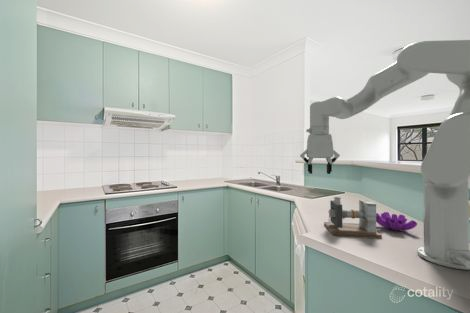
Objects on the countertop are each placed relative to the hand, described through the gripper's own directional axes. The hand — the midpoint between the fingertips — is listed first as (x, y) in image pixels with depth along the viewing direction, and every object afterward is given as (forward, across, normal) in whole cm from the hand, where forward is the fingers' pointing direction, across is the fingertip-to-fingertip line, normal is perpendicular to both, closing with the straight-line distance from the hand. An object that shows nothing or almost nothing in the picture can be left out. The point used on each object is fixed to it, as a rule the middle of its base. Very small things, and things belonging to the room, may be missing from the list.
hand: (319, 173), depth 89 cm
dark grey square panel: (+21, +6, 0) cm, 22 cm away
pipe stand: (+24, +12, 0) cm, 27 cm away
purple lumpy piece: (+24, +30, +6) cm, 39 cm away
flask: (+24, +14, +22) cm, 35 cm away
